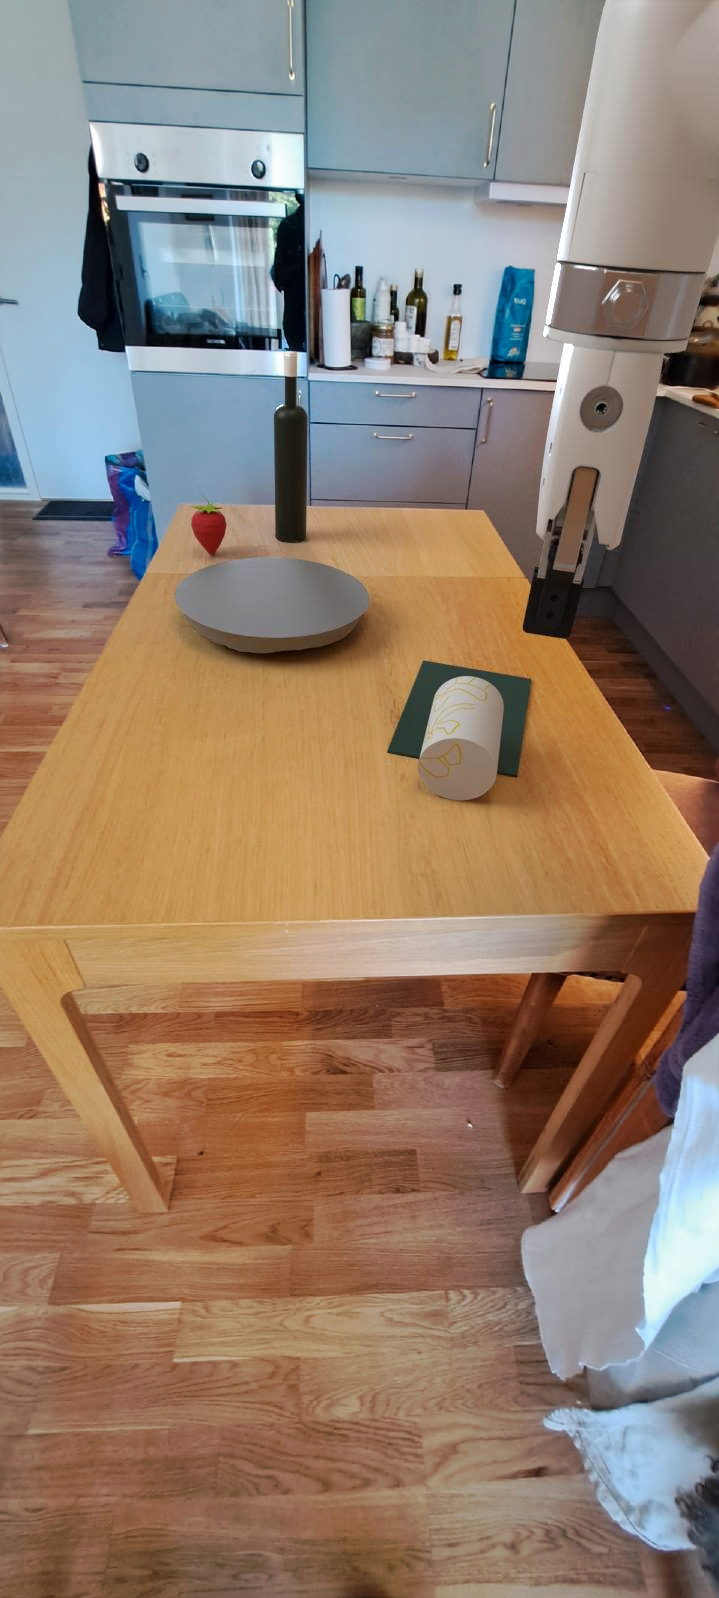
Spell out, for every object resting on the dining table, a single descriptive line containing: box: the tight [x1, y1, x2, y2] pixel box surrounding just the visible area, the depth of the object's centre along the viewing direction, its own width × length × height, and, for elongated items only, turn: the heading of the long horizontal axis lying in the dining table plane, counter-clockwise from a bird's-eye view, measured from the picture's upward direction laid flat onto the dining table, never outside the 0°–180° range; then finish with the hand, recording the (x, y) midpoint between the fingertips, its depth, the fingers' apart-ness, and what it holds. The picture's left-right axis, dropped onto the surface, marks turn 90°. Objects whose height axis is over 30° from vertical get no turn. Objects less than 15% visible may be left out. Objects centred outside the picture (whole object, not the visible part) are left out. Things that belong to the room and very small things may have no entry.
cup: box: [417, 676, 504, 801], centre depth 80 cm, size 8×8×12 cm
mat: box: [386, 659, 532, 778], centre depth 92 cm, size 15×23×1 cm, turn 166°
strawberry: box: [190, 495, 227, 556], centre depth 125 cm, size 6×8×10 cm
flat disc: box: [174, 556, 370, 654], centre depth 108 cm, size 28×28×4 cm
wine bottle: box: [273, 350, 309, 543], centre depth 128 cm, size 6×6×30 cm
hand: (545, 630), depth 50 cm, fingers closed
